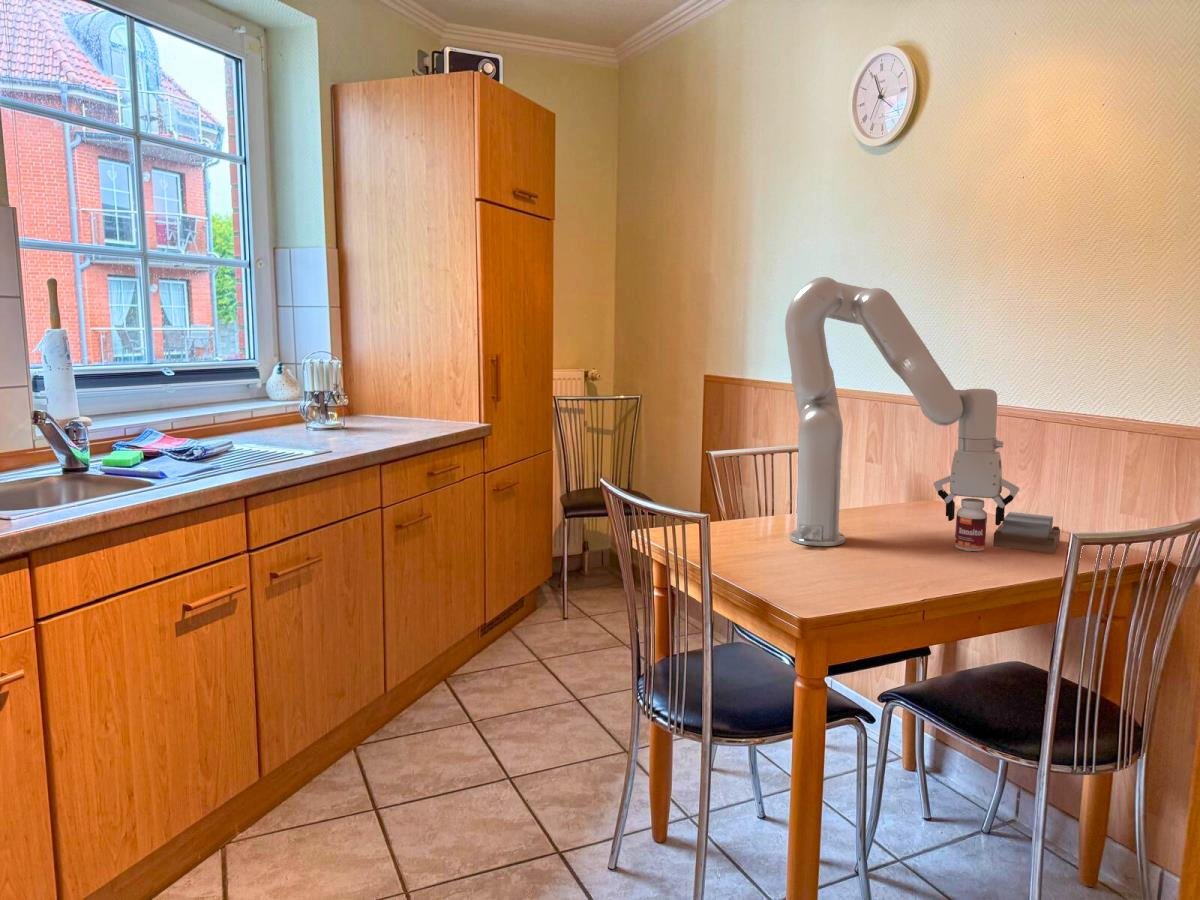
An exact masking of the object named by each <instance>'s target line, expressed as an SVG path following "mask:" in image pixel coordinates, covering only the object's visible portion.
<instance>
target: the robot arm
mask: <svg viewBox="0 0 1200 900" xmlns="http://www.w3.org/2000/svg"><path fill="white" fill-rule="evenodd" d="M826 319H832V320H836V321H841V322H845V323H849V324H854V325H861V326H862V327H863V329H864V330H865V332H866V333H867V334H868V336H869V337H870V339H871V340H872V342H873V343H874V345H875V346H876V348H877V350H878V351H879V352H880V355H882V357H883V358H884V360H885V361H886V363H887V364H888V365H889V367H890V369H892V370H893V372H894V373H896V375H897V376H898V377H899V378H900V379H901V380H902V381H903V382H904V384H905V385H906V387H907V388H908V389H909V391H910V392H911V393H912V395H913V396H914V398H915V400H916V401H917V402H918V404H919V405H920V410H921V413H922V414H923V416H924V417H926V418H927V419H928V420H929V421H930V422H932V423H933V424H934V425H937V426H942V427H943V426H950V425H953V424H955V423H956V422H957V421H958V427H957V429H958V430H957V431H958V434H957V439H958V440H957V449H956V450H954V453H953V457H952V463H951V470H950V475H948V476H946V477H943V478H940V479H937V480H936V481H934V482H933V486H934V488H935V491H936V492H937V495H938V496H939V497H940V498H941V499H942V500H943V502H944V503H945V517H947V521H949V522H951V521H953V520H954V519H955V509H956V507H955V506H956V505H955V504H956V502H955V501H954V498H956V497H957V496H958V497H967V498H977V499H991V500H993V501H994V502H995V503H996V504H997V505H996V508H995V520H994V521H995V525H996V526H998V527H999V526H1000V525H1001V524H1002V522H1003V521H1004V518H1005V507H1006V506H1007V505H1008V504H1009V503H1011V502H1012V501H1013V500H1014V499H1015V498H1016V495H1018V493H1019V491H1020V487H1019V486H1017V485H1016V484H1013V483H1011V482H1009V480H1006V479H1004V478H1003V469H1002V467H1003V466H1002V459H1001V452H1000V451H997V449H999V448H1004V441H1001V440H998V437H997V420H998V419H997V418H998V416H997V415H998V394H997V392H996V391H995V390H993V389H991V388H990V389H989V388H968V389H955V387H954V386H953V384H952V383H951V382H950V381H949V379H948V377H947V375H946V374H945V373H944V371H943V370H942V369H941V367H940V366H939V364H938V362H937V361H936V360H935V358H934V357H933V355H932V354H931V352H930V350H929V349H928V348H927V346H926V344H925V342H924V341H923V340H922V338H921V337H920V335H919V334H918V333H917V331H916V329H915V328H914V326H913V325H912V324H911V322H910V321H909V319H908V318H907V316H906V314H905V313H904V312H903V310H902V308H901V307H900V305H899V304H898V302H897V301H896V300H895V298H894V297H893V295H892V294H891V293H890V292H889V291H888V290H886V289H884V288H877V287H874V288H867V287H861V286H856V285H851V284H847V283H842V282H838V281H836V280H835V279H834V278H831V277H828V276H820V277H816V278H813V279H811V280H810V281H809V282H808V283H806V284H805V285H804V286H803V287H801V289H800V290H799V291H798V292H796V294H795V295H794V296H793V297H792V299H791V302H790V304H789V305H788V308H787V311H786V314H785V320H784V321H785V322H784V325H785V326H784V327H785V328H784V329H785V337H786V344H787V353H788V359H789V365H790V374H791V377H790V378H791V384H792V388H793V390H794V391H793V392H794V395H795V401H796V402H795V403H796V407H797V412H798V418H799V421H798V422H799V423H798V430H797V431H798V433H797V434H798V437H797V438H798V439H797V440H798V445H797V446H798V454H797V457H798V458H797V493H796V494H797V499H796V500H797V502H796V503H797V504H796V529H795V530H792V531H790V533H789V539H790V541H792V542H794V543H796V544H799V545H805V546H813V547H834V546H840V545H842V544H844V543H845V542H846V535H845V534H843V533H842V532H839V528H840V500H841V469H842V468H841V467H842V448H843V436H844V435H843V434H844V429H843V428H844V426H843V425H844V424H843V419H842V417H841V416H842V415H841V411H840V404H839V399H838V395H837V387H836V381H835V377H834V376H835V375H834V370H833V367H832V366H831V364H830V358H829V355H828V353H829V352H828V347H827V339H826V334H825V322H826ZM948 483H949V491H950V493H947V491H946V490H945V489H944V487H943V486H944V485H946V484H948ZM1003 487H1004V488H1005V489H1007V490H1009V494H1008V495H1007V496H1005V497H1003V496H1002V495H1001V493H1002V491H1003Z"/></svg>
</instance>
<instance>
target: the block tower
mask: <svg viewBox="0 0 1200 900" xmlns="http://www.w3.org/2000/svg"><path fill="white" fill-rule="evenodd" d="M1053 523H1054V516H1052V515H1042V514H1041V515H1040V514H1033V513H1025V512H1024V513H1022V512H1016V511H1015V512H1014V511H1009V512H1008V513H1007V515H1005V516H1004V521H1001V524H1000V525H999V526H998V527H997V528H996V530H995V531H994V532H993V539H992V543H993V544H992V547H997V548H1007V549H1015V550H1022V551H1027V552H1028V551H1029V552H1037V553H1045V554H1050V555H1051V554H1052V555H1054V554H1055V552H1056V550H1057V548H1058V545H1059V543H1060V541H1061V540H1060V538H1061V528H1060V526H1053Z"/></svg>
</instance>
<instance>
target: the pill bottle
mask: <svg viewBox="0 0 1200 900" xmlns="http://www.w3.org/2000/svg"><path fill="white" fill-rule="evenodd" d="M960 505H961V507H960V508H958V510H957V511H956V518H955V534H954V547H955V548H956V549H958V550H960V551H963V550H964V551H963V552H971V551H978V552H982V551H984V550H985V548H986V537H987V536H986V535H987V522H988V513H987V512H986V510H985V509H984V507H985V500H984V499H982V498H976V497H967V498H965V497H964V498H961V501H960Z"/></svg>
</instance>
